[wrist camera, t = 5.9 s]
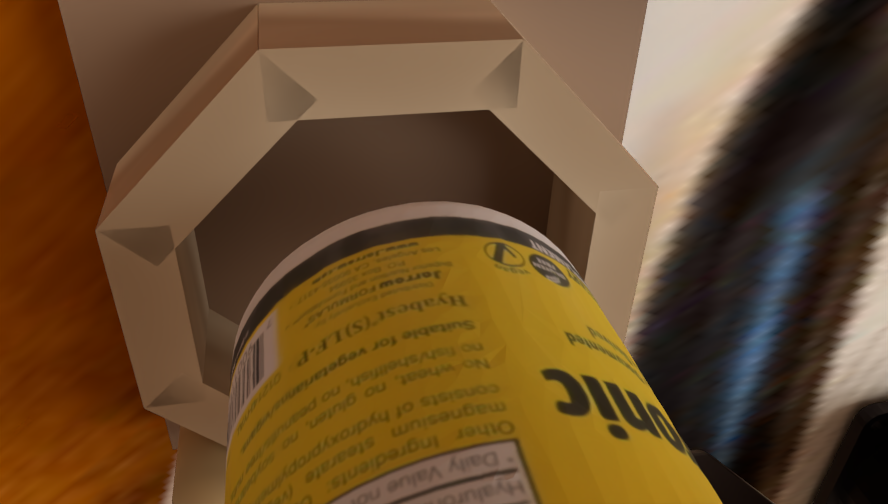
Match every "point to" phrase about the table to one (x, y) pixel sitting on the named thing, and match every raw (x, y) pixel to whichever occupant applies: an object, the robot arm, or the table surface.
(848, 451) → the robot arm
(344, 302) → the supplement bottle
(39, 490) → the table surface
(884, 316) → the table surface
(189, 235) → the beige octagonal holder
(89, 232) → the table surface
